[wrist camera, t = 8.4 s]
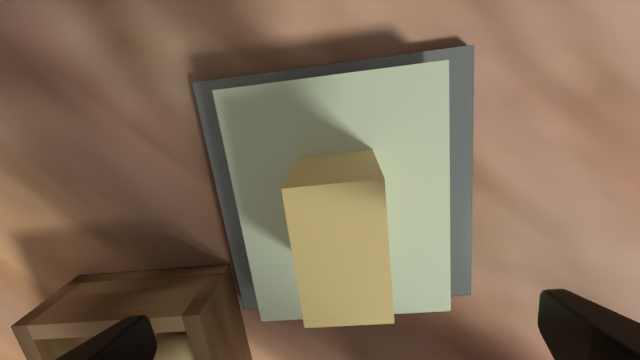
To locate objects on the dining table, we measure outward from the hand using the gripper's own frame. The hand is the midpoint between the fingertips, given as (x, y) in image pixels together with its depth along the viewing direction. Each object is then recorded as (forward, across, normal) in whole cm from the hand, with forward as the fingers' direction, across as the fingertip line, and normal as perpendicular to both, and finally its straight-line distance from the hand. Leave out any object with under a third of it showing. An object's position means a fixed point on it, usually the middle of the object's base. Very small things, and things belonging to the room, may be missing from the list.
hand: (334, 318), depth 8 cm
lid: (+8, 0, 0) cm, 8 cm away
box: (+9, +11, +9) cm, 17 cm away
